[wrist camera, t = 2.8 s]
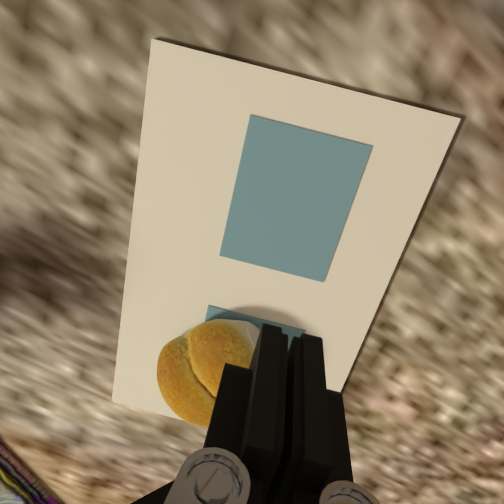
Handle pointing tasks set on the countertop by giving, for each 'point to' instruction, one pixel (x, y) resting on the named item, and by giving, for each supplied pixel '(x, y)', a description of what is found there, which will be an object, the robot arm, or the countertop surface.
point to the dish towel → (19, 483)
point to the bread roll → (202, 365)
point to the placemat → (265, 209)
